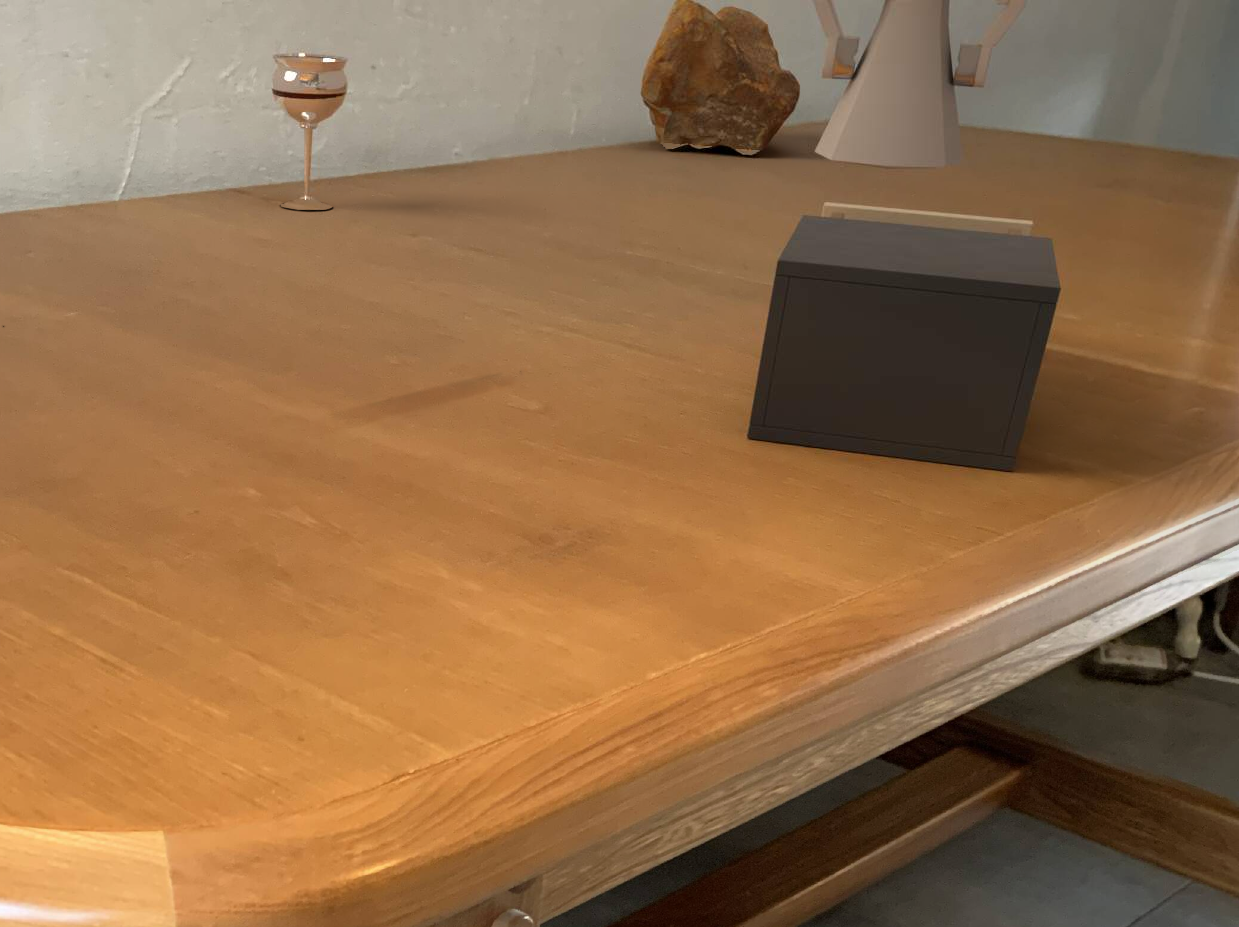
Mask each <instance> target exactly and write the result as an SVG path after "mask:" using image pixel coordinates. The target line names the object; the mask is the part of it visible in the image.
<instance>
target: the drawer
mask: <svg viewBox="0 0 1239 927" xmlns="http://www.w3.org/2000/svg"><path fill="white" fill-rule="evenodd" d="M821 217H830V218H841V219H852V220H862V221H873V222H884V223H895V224H905V225H916V226H927V227H937V228H948V229H959V230H970V231H980V232H991V233H1002V234H1012V235H1023V236H1032V231H1033V227H1034V221H1033V220H1026V219H1015V218H1003V217H992V216H983V215H982V216H981V215H971V214H961V213H950V212H949V213H948V212H938V211H928V210H916V209H905V208H896V207H895V208H894V207H883V206H872V205H863V204H862V205H861V204H853V203H851V204H850V203H842V202H841V203H840V202H829V201H825V202H824V203H823V207H822V212H821Z"/></svg>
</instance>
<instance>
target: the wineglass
mask: <svg viewBox="0 0 1239 927" xmlns="http://www.w3.org/2000/svg"><path fill="white" fill-rule="evenodd" d="M272 59H273V60H274V63H275V65H276V67H275V70H274V71H273V73H272V78H271V92H272V95H273V98H274V101H275V103H276V104H277V105H278V107H279V108H280V109H281V111H283V113H284V114H285V115H286V116H288V117H290V118H291V119H293V120H294V121H296V122H297V123H298V126H299V128H300V129H302V130H303V163H304V164H303V166H304V168H303V170H304V171H303V172H304V173H303V174H304V175H303V176H304V178H303V179H304V182H303V183H304V195H303V196H300V197H299V198H300V199H305V200H306V199H308V200H310V199H315V198H314V197H312V196H309V195H310V181H311V180H310V179H311V163H312V150H313V149H312V147H313V133H314V130H316V129H317V128H318V127H319V125H318V124H320V123H321V122H323V121H325V120H327V119H329V118H331V117H333V116H334V115H335V113H336V112H337V111H338V110H340V107H342V105H343V104H344V102H345V99H346V96H347V92H348V86H349V85H348V80H347V79H348V78H347V75H346V73H345V70H344V69H345V67H346V65H347V63H348V61H349V59H348V58H347V57H344V56H339V55H332V54H320V53H296V52H295V53H292V52H291V53H277V54H272Z"/></svg>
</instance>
